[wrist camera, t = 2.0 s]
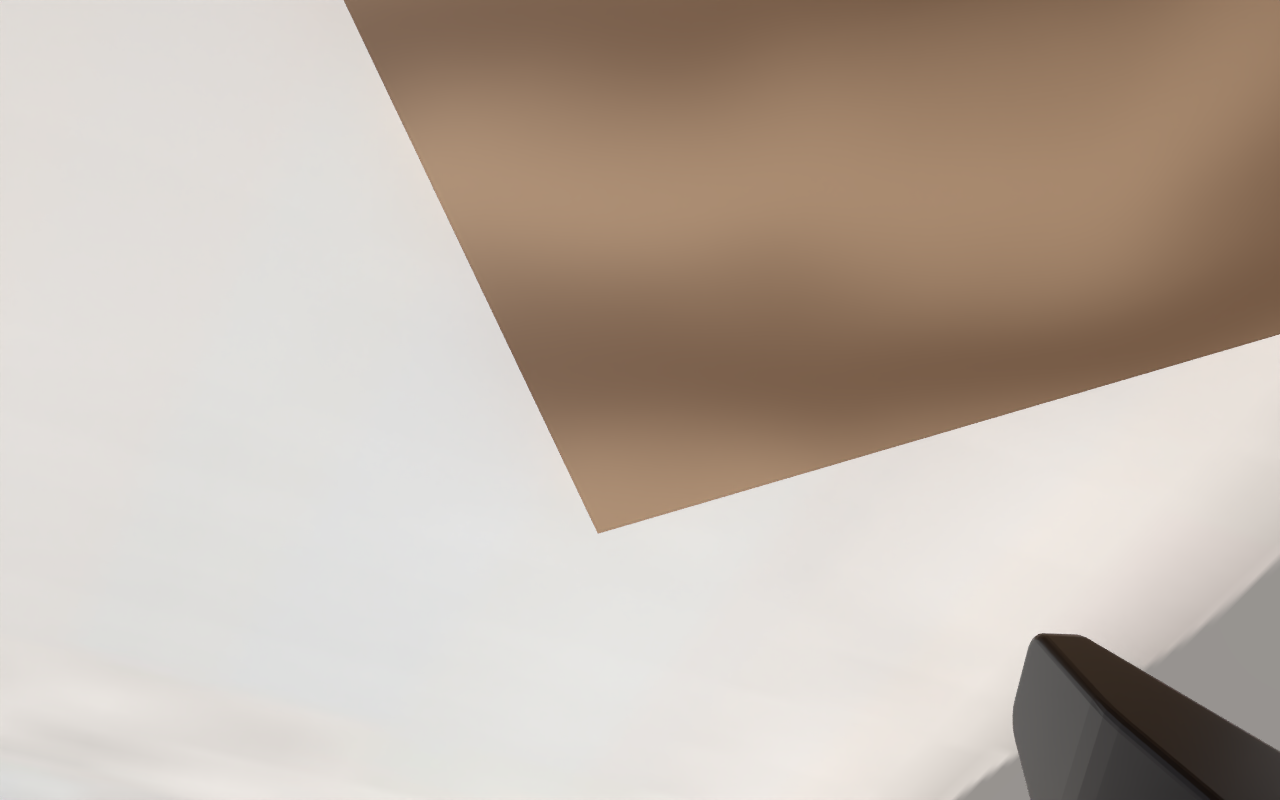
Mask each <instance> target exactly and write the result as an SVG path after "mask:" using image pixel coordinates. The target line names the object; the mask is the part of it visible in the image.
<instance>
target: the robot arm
mask: <svg viewBox="0 0 1280 800" xmlns="http://www.w3.org/2000/svg"><path fill="white" fill-rule="evenodd" d="M1013 732H1014V737H1015V742H1016V746H1017V750H1018V754H1019V757H1020V761H1021V765H1022V769H1023V773H1024V777H1025V781H1026V785H1027V789H1028V792H1029V796H1030V800H1280V751H1278V750H1277V749H1275V748H1273V747H1272V746H1270V745H1268V744H1266V743H1265V742H1263V741H1261V740H1260V739H1258V738H1256V737H1255V736H1253V735H1251V734H1250V733H1248V732H1246V731H1244V730H1243V729H1241V728H1239V727H1238V726H1236V725H1234V724H1232V723H1231V722H1229V721H1227V720H1226V719H1224V718H1222V717H1220V716H1219V715H1217V714H1215V713H1214V712H1212V711H1210V710H1209V709H1207V708H1205V707H1204V706H1202V705H1200V704H1198V703H1197V702H1195V701H1193V700H1192V699H1190V698H1188V697H1187V696H1185V695H1183V694H1181V693H1180V692H1178V691H1176V690H1174V689H1173V688H1171V687H1169V686H1168V685H1166V684H1164V683H1163V682H1161V681H1159V680H1158V679H1156V678H1154V677H1153V676H1151V675H1149V674H1147V673H1146V672H1144V671H1142V670H1141V669H1139V668H1137V667H1135V666H1134V665H1132V664H1130V663H1129V662H1127V661H1125V660H1124V659H1122V658H1120V657H1118V656H1117V655H1115V654H1113V653H1112V652H1110V651H1108V650H1107V649H1105V648H1103V647H1101V646H1100V645H1098V644H1096V643H1095V642H1093V641H1091V640H1090V639H1088V638H1086V637H1083V636H1081V635H1075V634H1048V633H1042V634H1038V635H1037V636H1035V637H1034V638H1033V639H1032V641H1031V643H1030V645H1029V647H1028V651H1027V655H1026V658H1025V662H1024V666H1023V670H1022V674H1021V678H1020V682H1019V686H1018V689H1017V693H1016V697H1015V701H1014V706H1013Z"/></svg>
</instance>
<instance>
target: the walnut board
mask: <svg viewBox="0 0 1280 800" xmlns="http://www.w3.org/2000/svg"><path fill="white" fill-rule="evenodd" d="M344 2H345V4H346V6H347V8H348V10H349V12H350V14H351V16H352V18H353V21H354V23H355V25H356V27H357V29H358V31H359V33H360V35H361V37H362V39H363V41H364V44H365V46H366V48H367V50H368V52H369V54H370V56H371V58H372V60H373V62H374V65H375V67H376V69H377V71H378V73H379V75H380V77H381V79H382V81H383V83H384V86H385V88H386V90H387V92H388V94H389V96H390V98H391V100H392V102H393V104H394V107H395V109H396V111H397V113H398V115H399V117H400V119H401V121H402V123H403V125H404V128H405V130H406V132H407V134H408V136H409V138H410V140H411V142H412V144H413V146H414V148H415V151H416V153H417V155H418V157H419V159H420V161H421V163H422V165H423V167H424V169H425V172H426V174H427V176H428V178H429V180H430V182H431V184H432V186H433V188H434V190H435V193H436V195H437V197H438V199H439V201H440V203H441V205H442V207H443V209H444V211H445V214H446V216H447V218H448V220H449V222H450V224H451V226H452V228H453V230H454V232H455V235H456V237H457V239H458V241H459V243H460V245H461V247H462V249H463V251H464V253H465V256H466V258H467V260H468V262H469V264H470V266H471V268H472V270H473V272H474V274H475V276H476V279H477V281H478V283H479V285H480V287H481V289H482V291H483V293H484V295H485V297H486V300H487V302H488V304H489V306H490V308H491V310H492V312H493V314H494V316H495V318H496V321H497V323H498V325H499V327H500V329H501V331H502V333H503V335H504V337H505V339H506V342H507V344H508V346H509V348H510V350H511V352H512V354H513V356H514V358H515V360H516V363H517V365H518V367H519V369H520V371H521V373H522V375H523V377H524V379H525V381H526V384H527V386H528V388H529V390H530V392H531V394H532V396H533V398H534V400H535V402H536V404H537V407H538V409H539V411H540V413H541V415H542V417H543V419H544V421H545V423H546V425H547V428H548V430H549V432H550V434H551V436H552V438H553V440H554V442H555V444H556V446H557V449H558V451H559V453H560V455H561V457H562V459H563V461H564V463H565V465H566V467H567V470H568V472H569V474H570V476H571V478H572V480H573V482H574V484H575V486H576V488H577V491H578V493H579V495H580V497H581V499H582V501H583V503H584V505H585V507H586V509H587V511H588V514H589V516H590V518H591V520H592V522H593V524H594V526H595V528H596V530H597V532H598V533H601V532H605V531H608V530H612V529H615V528H619V527H622V526H625V525H629V524H632V523H636V522H639V521H642V520H646V519H649V518H653V517H656V516H660V515H663V514H666V513H670V512H673V511H677V510H680V509H684V508H687V507H690V506H694V505H697V504H701V503H704V502H707V501H711V500H714V499H718V498H721V497H725V496H728V495H731V494H735V493H738V492H742V491H745V490H749V489H752V488H755V487H759V486H762V485H766V484H769V483H772V482H776V481H779V480H783V479H786V478H790V477H793V476H796V475H800V474H803V473H807V472H810V471H814V470H817V469H820V468H824V467H827V466H831V465H834V464H837V463H841V462H844V461H848V460H851V459H855V458H858V457H861V456H865V455H868V454H872V453H875V452H878V451H882V450H885V449H889V448H892V447H896V446H899V445H902V444H906V443H909V442H913V441H916V440H920V439H923V438H926V437H930V436H933V435H937V434H940V433H943V432H947V431H950V430H954V429H957V428H961V427H964V426H967V425H971V424H974V423H978V422H981V421H985V420H988V419H991V418H995V417H998V416H1002V415H1005V414H1008V413H1012V412H1015V411H1019V410H1022V409H1026V408H1029V407H1032V406H1036V405H1039V404H1043V403H1046V402H1050V401H1053V400H1056V399H1060V398H1063V397H1067V396H1070V395H1073V394H1077V393H1080V392H1084V391H1087V390H1091V389H1094V388H1097V387H1101V386H1104V385H1108V384H1111V383H1115V382H1118V381H1121V380H1125V379H1128V378H1132V377H1135V376H1138V375H1142V374H1145V373H1149V372H1152V371H1156V370H1159V369H1162V368H1166V367H1169V366H1173V365H1176V364H1179V363H1183V362H1186V361H1190V360H1193V359H1197V358H1200V357H1203V356H1207V355H1210V354H1214V353H1217V352H1221V351H1224V350H1227V349H1231V348H1234V347H1238V346H1241V345H1244V344H1248V343H1251V342H1255V341H1258V340H1262V339H1265V338H1268V337H1272V336H1275V335H1279V334H1280V0H344Z"/></svg>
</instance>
